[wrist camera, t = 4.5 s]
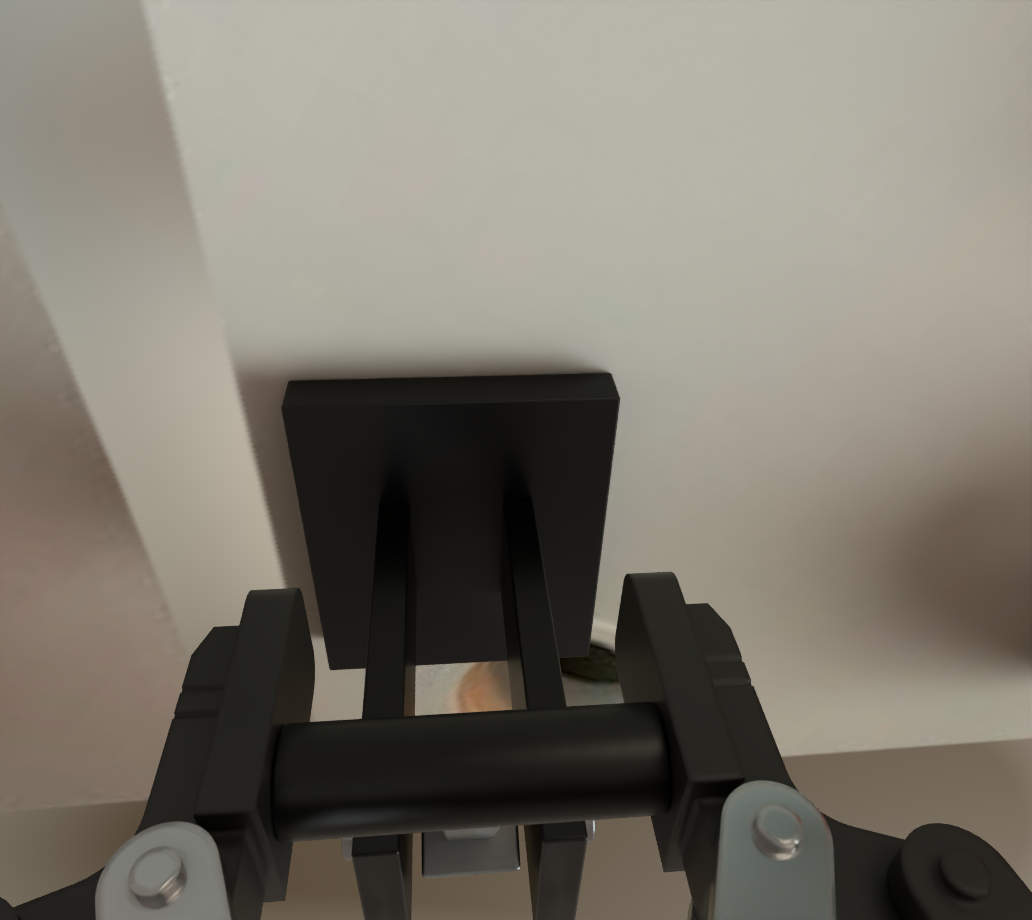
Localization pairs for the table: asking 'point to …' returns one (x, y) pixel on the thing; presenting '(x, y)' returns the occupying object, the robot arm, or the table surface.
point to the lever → (469, 778)
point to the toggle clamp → (456, 558)
